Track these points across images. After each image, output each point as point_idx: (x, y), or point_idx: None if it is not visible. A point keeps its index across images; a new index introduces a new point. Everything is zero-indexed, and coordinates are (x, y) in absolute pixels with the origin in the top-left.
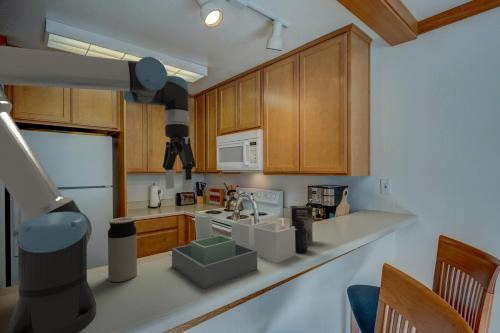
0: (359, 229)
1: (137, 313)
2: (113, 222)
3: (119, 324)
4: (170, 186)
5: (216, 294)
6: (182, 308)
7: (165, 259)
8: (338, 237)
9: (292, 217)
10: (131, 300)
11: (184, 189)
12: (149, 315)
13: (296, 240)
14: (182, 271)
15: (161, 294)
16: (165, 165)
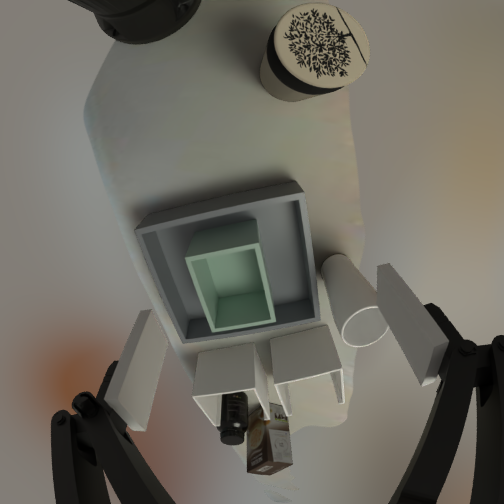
0: None
1: (116, 104)
2: (286, 13)
3: (100, 83)
4: (381, 293)
5: (122, 228)
6: (102, 170)
7: (349, 176)
8: None
9: (266, 445)
10: (163, 90)
11: (139, 318)
12: (103, 122)
13: (222, 408)
14: (236, 194)
15: (160, 141)
16: (472, 367)
